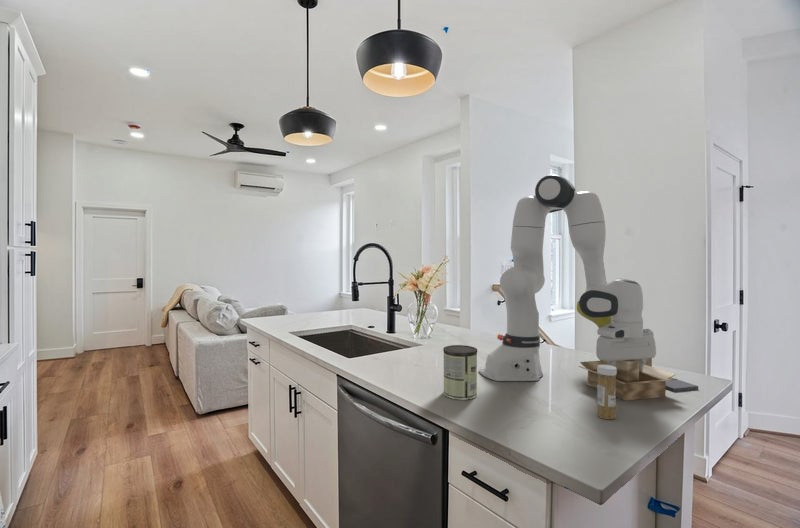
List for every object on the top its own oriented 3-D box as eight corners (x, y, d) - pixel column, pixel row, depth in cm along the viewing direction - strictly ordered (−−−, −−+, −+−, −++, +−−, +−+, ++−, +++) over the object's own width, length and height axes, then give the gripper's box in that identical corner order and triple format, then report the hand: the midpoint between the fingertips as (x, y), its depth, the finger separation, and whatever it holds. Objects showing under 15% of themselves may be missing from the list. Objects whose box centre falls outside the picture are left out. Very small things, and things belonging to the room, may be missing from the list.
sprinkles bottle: (617, 421, 102) (618, 369, 102) (598, 418, 103) (598, 367, 103) (613, 414, 106) (614, 364, 106) (595, 412, 108) (595, 363, 107)
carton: (624, 406, 112) (625, 383, 112) (570, 381, 134) (570, 362, 134) (687, 399, 118) (687, 377, 118) (625, 376, 140) (625, 358, 140)
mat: (673, 391, 125) (673, 388, 125) (646, 381, 134) (646, 379, 134) (698, 389, 127) (698, 386, 127) (669, 379, 137) (669, 376, 137)
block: (626, 393, 122) (627, 361, 122) (611, 387, 128) (612, 357, 128) (638, 392, 124) (639, 361, 123) (623, 386, 129) (623, 356, 129)
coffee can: (446, 387, 127) (447, 343, 127) (479, 391, 124) (479, 346, 124) (439, 397, 118) (439, 350, 117) (474, 402, 114) (474, 353, 114)
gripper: (644, 326, 131) (644, 368, 131) (592, 329, 126) (592, 372, 126) (661, 330, 125) (661, 373, 125) (608, 333, 120) (607, 378, 120)
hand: (626, 373), depth 125 cm, fingers open, 8 cm apart
